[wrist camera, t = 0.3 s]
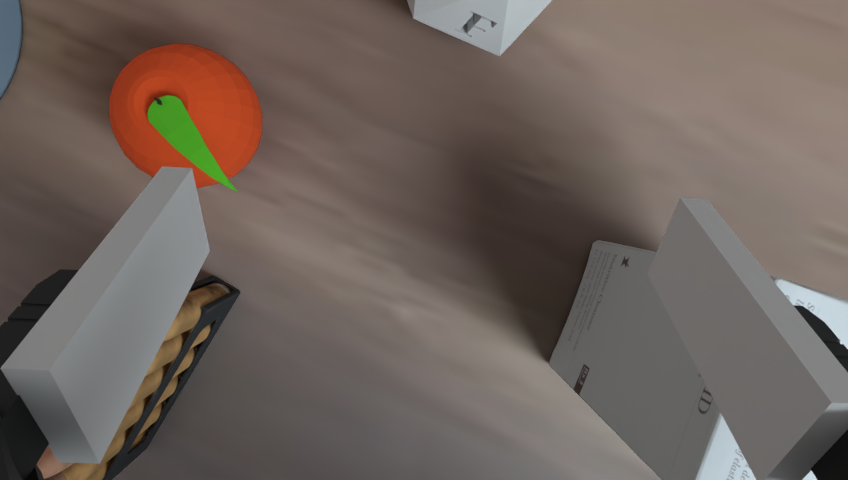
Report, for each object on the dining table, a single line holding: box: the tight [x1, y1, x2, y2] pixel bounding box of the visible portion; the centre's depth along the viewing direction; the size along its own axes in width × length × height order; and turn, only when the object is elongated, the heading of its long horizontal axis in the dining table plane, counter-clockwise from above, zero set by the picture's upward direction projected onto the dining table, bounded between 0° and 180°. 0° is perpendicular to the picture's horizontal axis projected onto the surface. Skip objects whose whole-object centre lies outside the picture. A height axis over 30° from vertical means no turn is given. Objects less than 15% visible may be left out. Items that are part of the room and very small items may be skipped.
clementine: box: [109, 44, 262, 192], centre depth 26 cm, size 8×7×7 cm
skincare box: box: [549, 240, 848, 480], centre depth 24 cm, size 8×6×15 cm
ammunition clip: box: [36, 276, 240, 480], centre depth 24 cm, size 11×2×12 cm, turn 149°
